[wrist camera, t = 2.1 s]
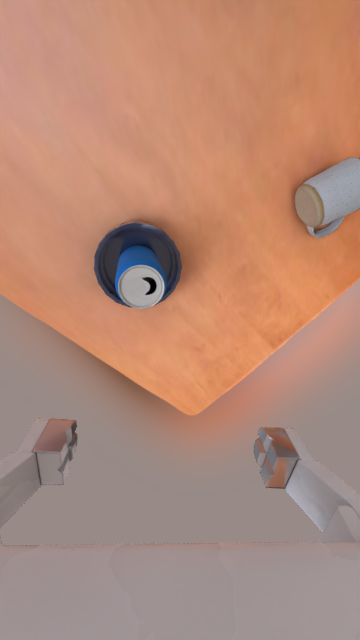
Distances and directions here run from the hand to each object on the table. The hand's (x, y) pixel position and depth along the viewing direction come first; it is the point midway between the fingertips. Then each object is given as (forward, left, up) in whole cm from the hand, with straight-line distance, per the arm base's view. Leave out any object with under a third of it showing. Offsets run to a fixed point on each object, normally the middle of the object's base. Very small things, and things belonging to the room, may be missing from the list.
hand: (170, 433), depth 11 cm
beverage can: (0, -1, -34) cm, 34 cm away
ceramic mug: (+15, +27, -34) cm, 47 cm away
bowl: (0, -1, -34) cm, 34 cm away
